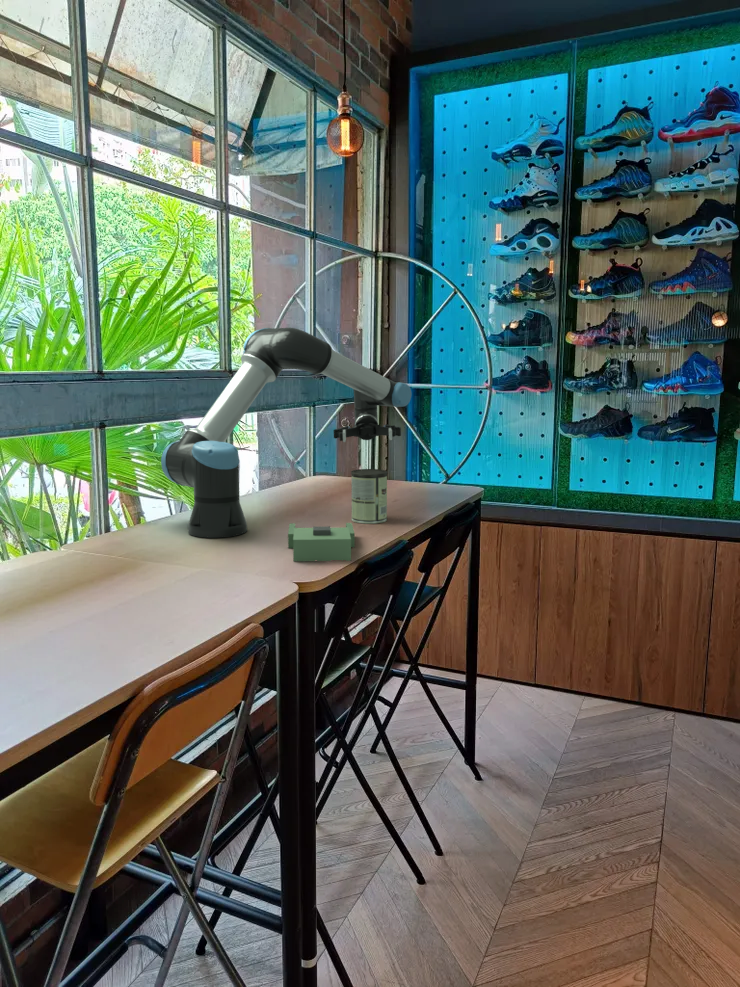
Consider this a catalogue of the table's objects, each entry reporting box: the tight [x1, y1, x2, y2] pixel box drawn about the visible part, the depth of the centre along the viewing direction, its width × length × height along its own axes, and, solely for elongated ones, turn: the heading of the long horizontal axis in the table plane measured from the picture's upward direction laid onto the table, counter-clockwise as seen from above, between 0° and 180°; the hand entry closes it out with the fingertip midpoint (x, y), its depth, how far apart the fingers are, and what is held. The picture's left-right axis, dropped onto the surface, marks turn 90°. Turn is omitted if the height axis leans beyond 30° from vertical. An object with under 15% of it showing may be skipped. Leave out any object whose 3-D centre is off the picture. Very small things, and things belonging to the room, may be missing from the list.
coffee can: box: [350, 468, 389, 525], centre depth 210 cm, size 10×10×14 cm
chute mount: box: [287, 522, 356, 562], centre depth 178 cm, size 16×24×6 cm, turn 5°
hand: (367, 436), depth 215 cm, fingers open, 13 cm apart
